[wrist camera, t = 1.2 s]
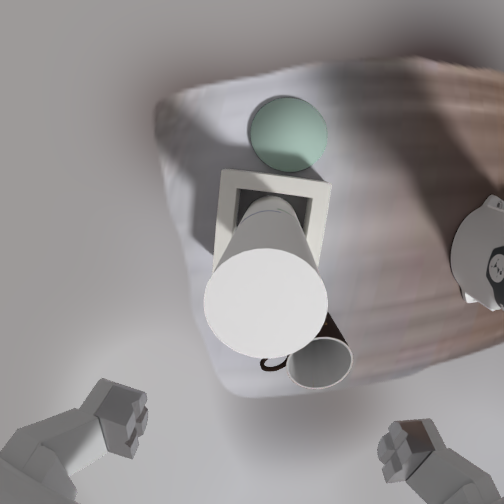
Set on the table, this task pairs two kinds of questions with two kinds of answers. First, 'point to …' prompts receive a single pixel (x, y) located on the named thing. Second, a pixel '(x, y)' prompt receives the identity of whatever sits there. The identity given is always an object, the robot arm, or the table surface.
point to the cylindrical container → (266, 285)
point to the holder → (273, 183)
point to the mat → (288, 134)
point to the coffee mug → (319, 359)
